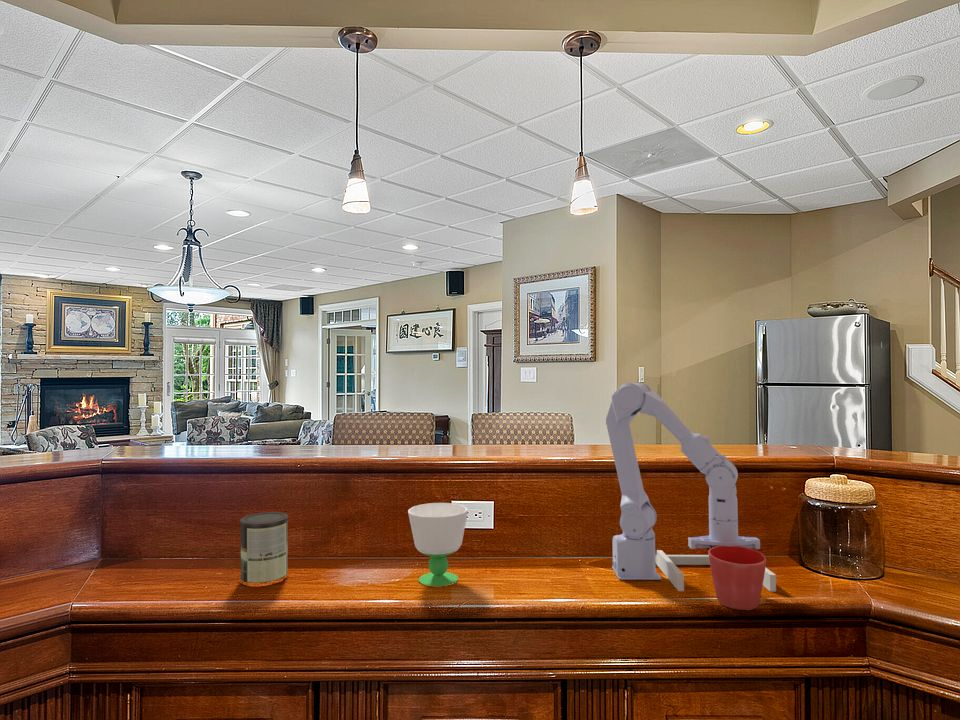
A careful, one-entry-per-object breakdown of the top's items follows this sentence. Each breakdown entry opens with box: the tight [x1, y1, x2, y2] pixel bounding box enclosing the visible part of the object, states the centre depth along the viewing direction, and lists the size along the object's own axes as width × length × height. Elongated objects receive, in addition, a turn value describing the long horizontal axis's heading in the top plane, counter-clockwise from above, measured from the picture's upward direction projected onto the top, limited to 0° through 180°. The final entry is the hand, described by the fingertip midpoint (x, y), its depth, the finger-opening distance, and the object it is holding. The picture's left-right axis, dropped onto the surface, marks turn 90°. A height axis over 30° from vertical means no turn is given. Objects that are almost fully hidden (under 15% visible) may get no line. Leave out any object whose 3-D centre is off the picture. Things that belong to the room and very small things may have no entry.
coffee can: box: [239, 511, 289, 583], centre depth 130 cm, size 10×10×14 cm
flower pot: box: [707, 546, 767, 611], centre depth 114 cm, size 11×11×10 cm
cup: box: [407, 502, 469, 587], centre depth 128 cm, size 14×14×16 cm
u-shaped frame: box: [655, 549, 777, 593], centre depth 129 cm, size 20×18×4 cm
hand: (724, 581), depth 121 cm, fingers closed
